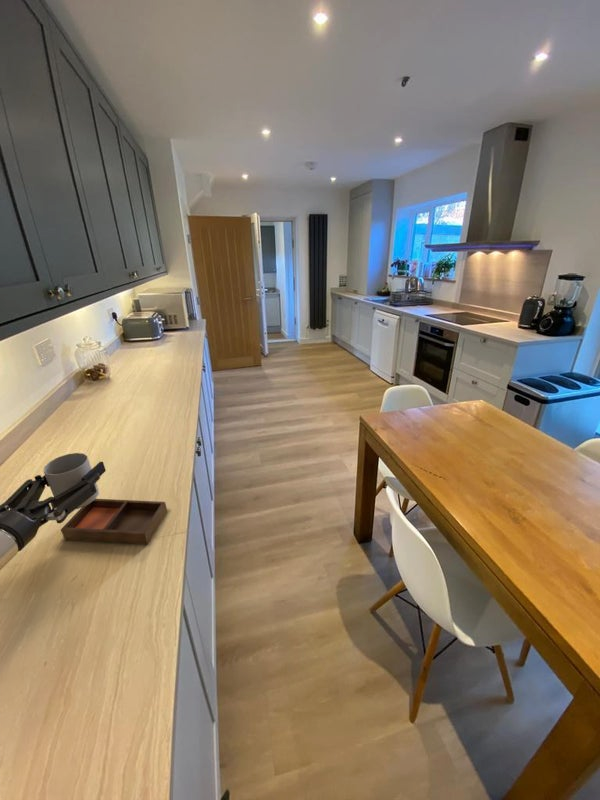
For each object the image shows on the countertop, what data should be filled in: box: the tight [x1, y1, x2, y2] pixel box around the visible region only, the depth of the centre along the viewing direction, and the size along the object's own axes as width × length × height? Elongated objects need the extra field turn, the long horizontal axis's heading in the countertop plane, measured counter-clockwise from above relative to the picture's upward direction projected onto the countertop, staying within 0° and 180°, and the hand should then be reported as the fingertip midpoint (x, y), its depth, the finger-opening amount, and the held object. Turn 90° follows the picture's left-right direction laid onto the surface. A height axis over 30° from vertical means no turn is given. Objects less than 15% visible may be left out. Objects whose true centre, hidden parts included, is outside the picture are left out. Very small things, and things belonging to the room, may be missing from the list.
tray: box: [60, 498, 168, 545], centre depth 84 cm, size 21×11×4 cm, turn 86°
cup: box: [43, 452, 100, 510], centre depth 75 cm, size 8×8×10 cm
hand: (85, 465), depth 79 cm, fingers closed on cup, 8 cm apart
